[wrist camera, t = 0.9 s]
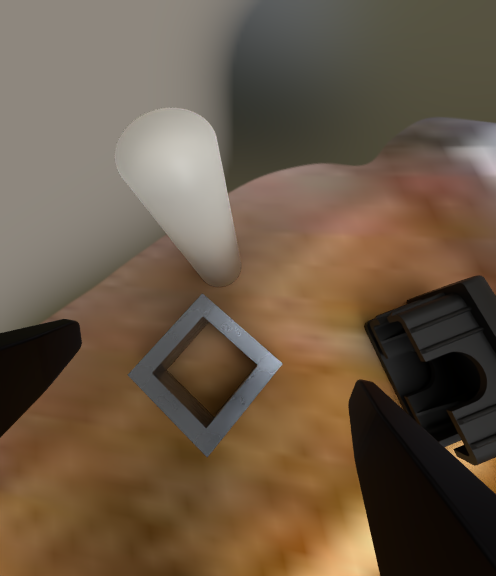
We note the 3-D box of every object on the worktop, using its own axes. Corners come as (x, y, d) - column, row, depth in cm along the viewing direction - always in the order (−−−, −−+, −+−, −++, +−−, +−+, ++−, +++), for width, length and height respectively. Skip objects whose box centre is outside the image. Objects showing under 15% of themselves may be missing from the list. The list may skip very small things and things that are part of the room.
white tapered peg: (221, 295, 23) (165, 215, 9) (189, 268, 23) (93, 155, 10) (250, 263, 23) (239, 142, 10) (218, 237, 24) (166, 91, 10)
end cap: (499, 405, 20) (619, 434, 13) (417, 439, 19) (498, 485, 13) (433, 289, 22) (507, 264, 16) (358, 318, 22) (402, 304, 15)
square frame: (214, 441, 20) (207, 457, 17) (145, 371, 21) (127, 374, 18) (279, 361, 21) (282, 363, 18) (209, 300, 23) (202, 293, 20)
